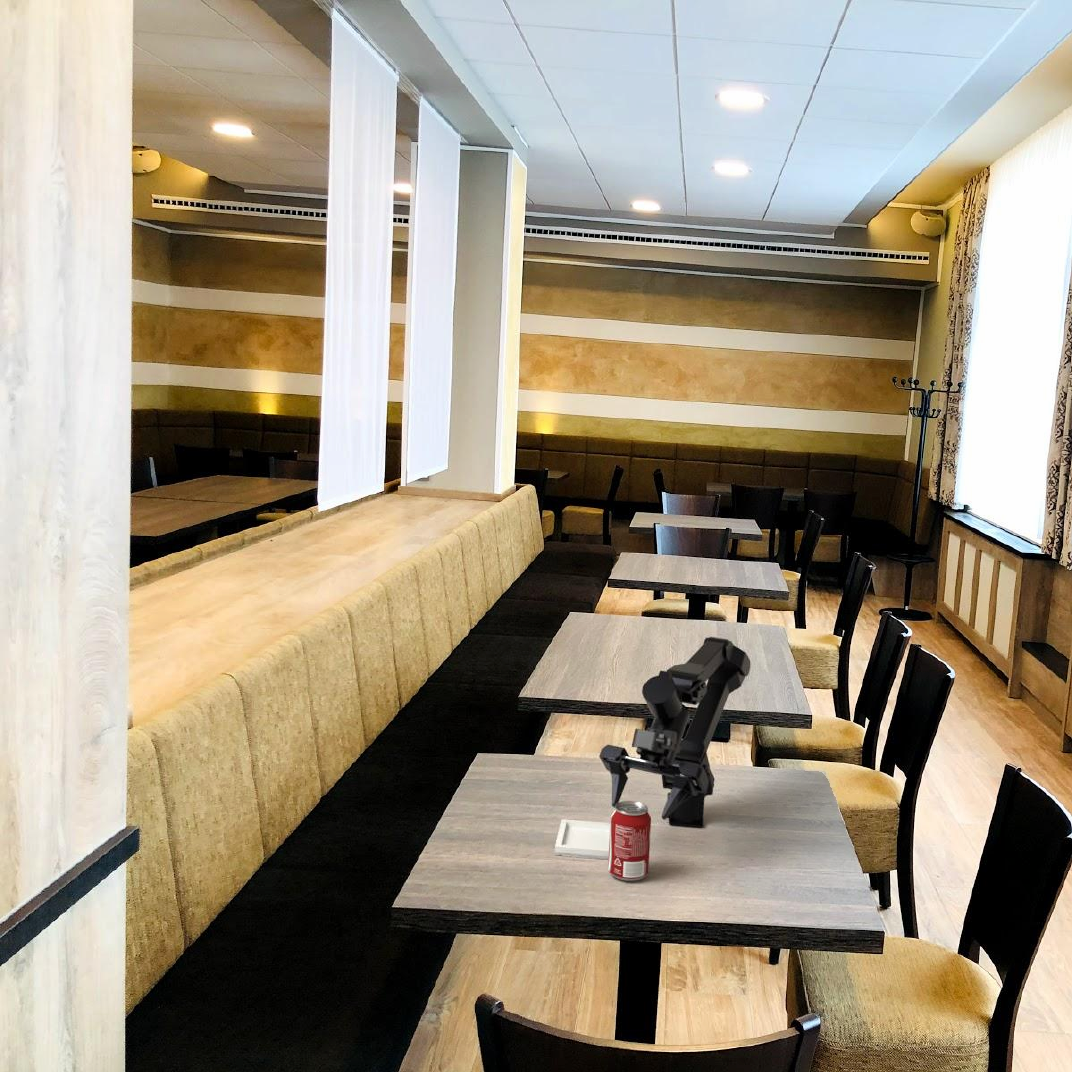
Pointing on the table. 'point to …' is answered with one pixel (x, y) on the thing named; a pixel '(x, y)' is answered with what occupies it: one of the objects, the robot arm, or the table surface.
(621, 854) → the soda can
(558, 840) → the tray
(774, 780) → the table surface
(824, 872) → the table surface
